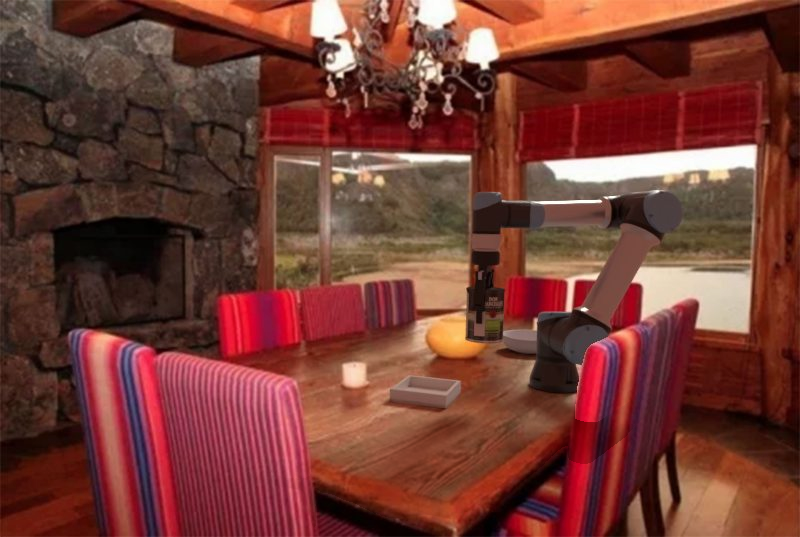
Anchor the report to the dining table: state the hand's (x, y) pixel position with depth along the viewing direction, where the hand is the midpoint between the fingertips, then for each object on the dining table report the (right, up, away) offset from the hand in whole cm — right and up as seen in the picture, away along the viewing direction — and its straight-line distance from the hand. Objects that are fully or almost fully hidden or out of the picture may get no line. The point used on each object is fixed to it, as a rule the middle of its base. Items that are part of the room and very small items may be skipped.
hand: (483, 332), depth 158 cm
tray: (-15, -19, +7) cm, 25 cm away
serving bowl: (+27, -15, +69) cm, 76 cm away
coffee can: (0, -2, 0) cm, 2 cm away
